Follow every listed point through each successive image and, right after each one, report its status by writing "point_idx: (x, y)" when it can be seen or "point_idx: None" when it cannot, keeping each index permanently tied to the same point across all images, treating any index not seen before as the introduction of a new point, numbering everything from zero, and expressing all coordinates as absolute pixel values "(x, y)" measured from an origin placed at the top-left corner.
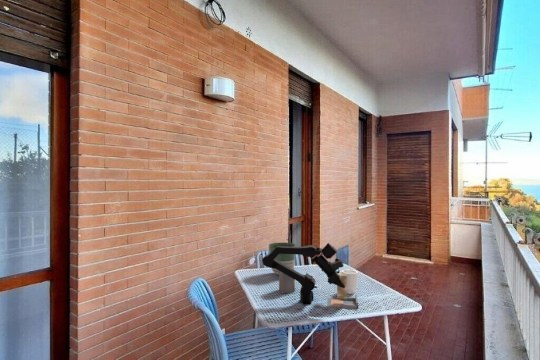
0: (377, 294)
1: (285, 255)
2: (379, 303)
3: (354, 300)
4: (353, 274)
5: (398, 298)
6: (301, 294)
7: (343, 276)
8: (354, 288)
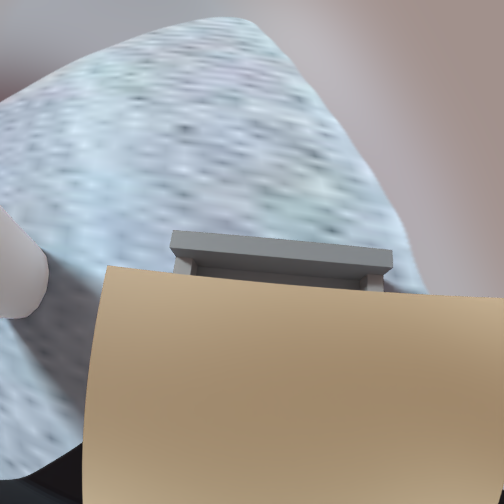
0: (68, 121)
1: None
2: (208, 119)
3: (196, 272)
4: None
5: (141, 51)
6: None
7: (495, 429)
8: (21, 231)
